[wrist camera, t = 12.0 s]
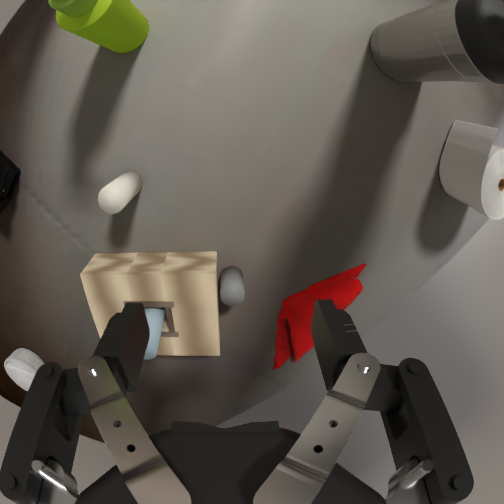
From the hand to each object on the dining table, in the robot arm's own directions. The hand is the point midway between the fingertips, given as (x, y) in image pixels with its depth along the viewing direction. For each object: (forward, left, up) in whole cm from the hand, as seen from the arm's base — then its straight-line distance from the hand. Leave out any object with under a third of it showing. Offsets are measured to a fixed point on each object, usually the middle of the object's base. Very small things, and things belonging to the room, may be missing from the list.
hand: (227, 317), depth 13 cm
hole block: (+10, +17, -26) cm, 32 cm away
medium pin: (+12, 0, -26) cm, 29 cm away
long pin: (+10, +17, -26) cm, 32 cm away
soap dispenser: (+12, -20, -26) cm, 35 cm away
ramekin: (+45, +37, -26) cm, 64 cm away
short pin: (-1, +14, -26) cm, 29 cm away
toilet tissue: (-37, -5, -26) cm, 45 cm away
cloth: (-14, +22, -27) cm, 38 cm away
